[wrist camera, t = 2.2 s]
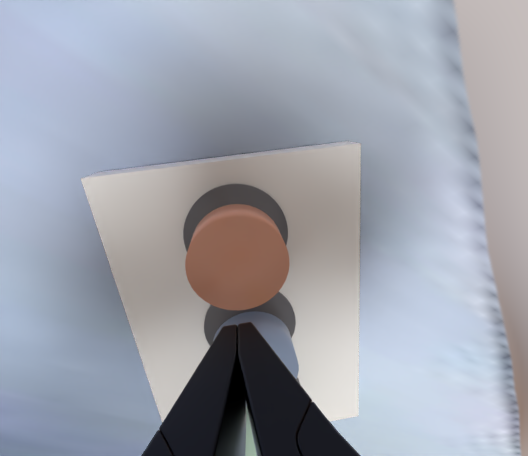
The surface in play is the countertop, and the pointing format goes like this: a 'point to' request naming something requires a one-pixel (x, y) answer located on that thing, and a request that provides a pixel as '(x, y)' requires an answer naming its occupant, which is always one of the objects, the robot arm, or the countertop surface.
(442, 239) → the countertop surface
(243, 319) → the slate button
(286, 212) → the button board
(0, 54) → the countertop surface
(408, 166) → the countertop surface
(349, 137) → the countertop surface
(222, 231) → the terracotta button
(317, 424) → the robot arm
